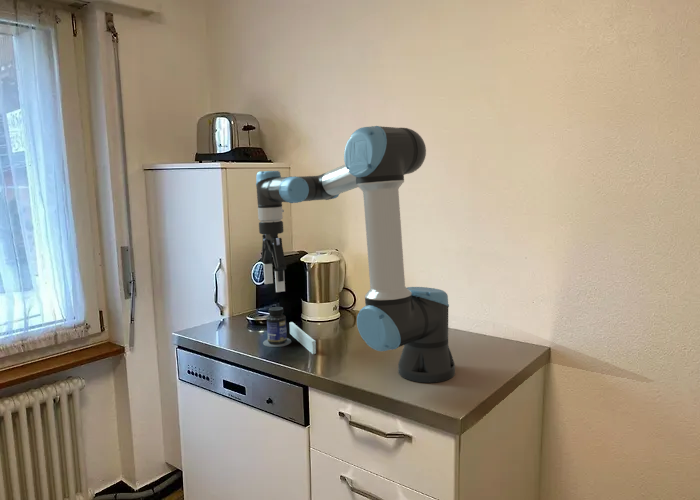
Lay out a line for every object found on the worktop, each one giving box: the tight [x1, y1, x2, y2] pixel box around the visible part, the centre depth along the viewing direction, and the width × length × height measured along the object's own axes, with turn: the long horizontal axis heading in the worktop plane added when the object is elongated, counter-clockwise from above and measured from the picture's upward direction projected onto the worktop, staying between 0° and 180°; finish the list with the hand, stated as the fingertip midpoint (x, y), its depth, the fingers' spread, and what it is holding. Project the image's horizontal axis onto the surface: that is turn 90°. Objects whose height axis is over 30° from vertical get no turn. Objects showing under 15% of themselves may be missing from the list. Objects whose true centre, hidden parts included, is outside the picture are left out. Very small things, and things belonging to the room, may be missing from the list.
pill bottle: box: [266, 306, 288, 344], centre depth 172 cm, size 6×6×11 cm
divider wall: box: [289, 321, 317, 355], centre depth 172 cm, size 23×1×4 cm, turn 24°
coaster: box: [262, 337, 292, 348], centre depth 173 cm, size 9×9×1 cm
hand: (274, 287), depth 170 cm, fingers open, 13 cm apart
